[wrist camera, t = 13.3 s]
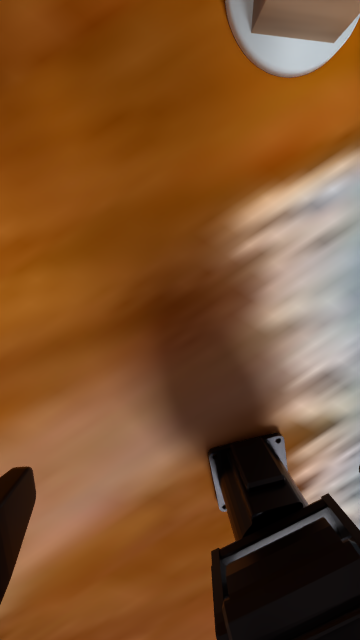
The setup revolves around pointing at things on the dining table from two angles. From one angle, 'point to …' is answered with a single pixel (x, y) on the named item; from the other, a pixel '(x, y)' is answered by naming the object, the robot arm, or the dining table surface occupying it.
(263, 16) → the taupe upright block
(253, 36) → the pad
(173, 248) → the dining table surface
